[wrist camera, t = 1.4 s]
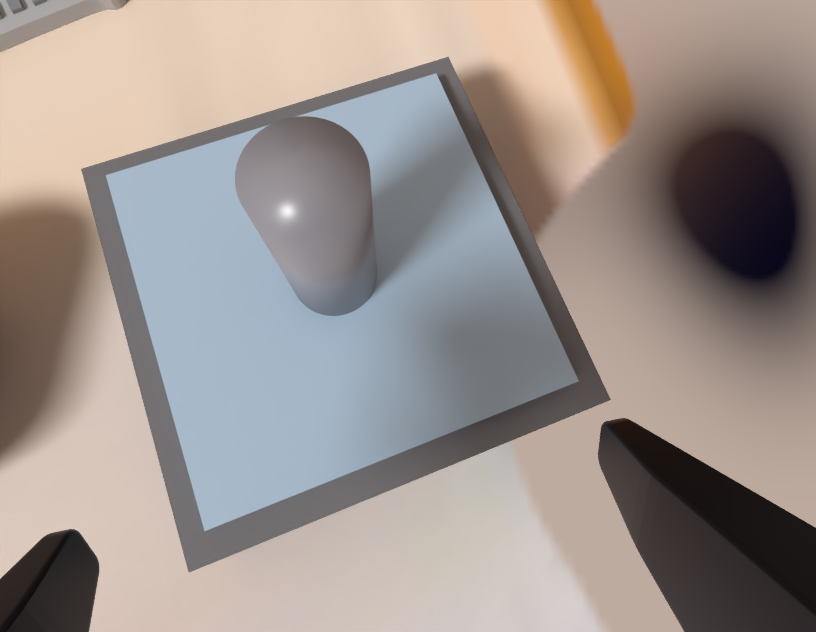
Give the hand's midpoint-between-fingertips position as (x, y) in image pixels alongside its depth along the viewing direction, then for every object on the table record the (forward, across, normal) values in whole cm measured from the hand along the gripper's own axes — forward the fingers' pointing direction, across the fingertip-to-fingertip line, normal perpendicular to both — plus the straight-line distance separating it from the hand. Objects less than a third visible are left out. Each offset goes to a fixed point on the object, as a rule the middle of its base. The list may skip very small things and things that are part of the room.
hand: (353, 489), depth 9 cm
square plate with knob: (+11, 0, +1) cm, 11 cm away
